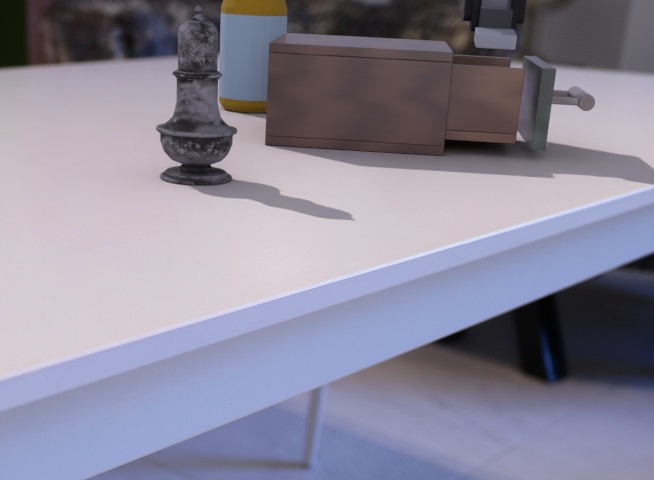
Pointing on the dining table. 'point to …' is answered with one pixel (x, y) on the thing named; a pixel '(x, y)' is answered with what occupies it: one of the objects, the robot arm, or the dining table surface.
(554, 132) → the dining table surface
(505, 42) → the grey stepped block
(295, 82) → the cabinet
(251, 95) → the bottle
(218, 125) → the salt shaker
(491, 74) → the drawer
